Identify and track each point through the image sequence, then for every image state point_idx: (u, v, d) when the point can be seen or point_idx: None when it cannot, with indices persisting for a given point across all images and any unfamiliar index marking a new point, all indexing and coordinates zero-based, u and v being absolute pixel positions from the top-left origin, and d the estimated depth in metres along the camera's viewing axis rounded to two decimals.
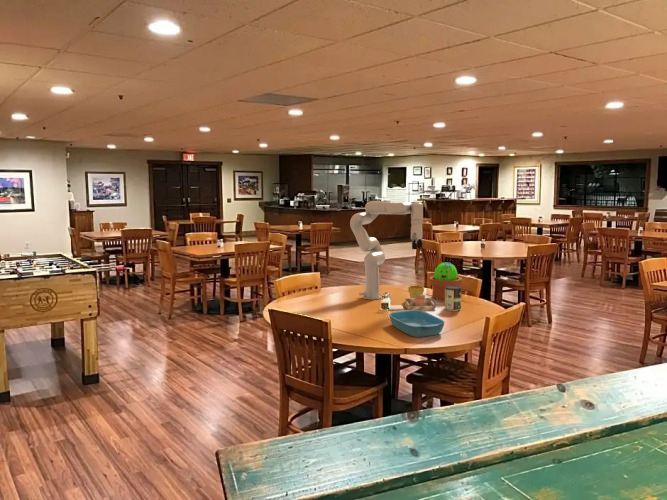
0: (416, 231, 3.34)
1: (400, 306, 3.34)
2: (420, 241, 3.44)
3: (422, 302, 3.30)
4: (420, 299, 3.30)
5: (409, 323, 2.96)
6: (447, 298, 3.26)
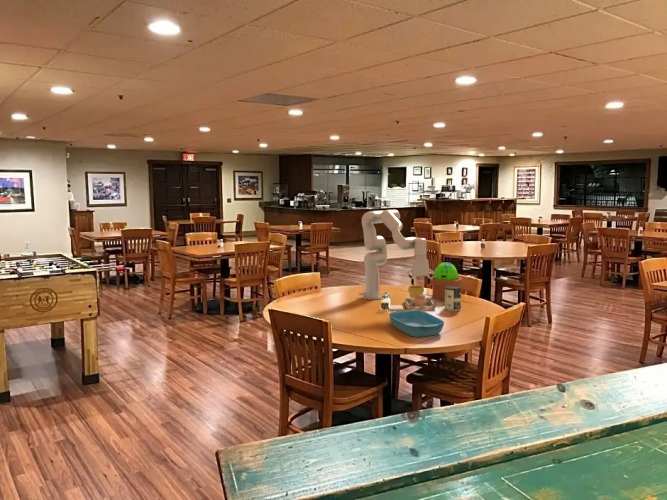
0: None
1: (400, 306, 3.34)
2: None
3: (422, 302, 3.30)
4: (420, 299, 3.30)
5: (409, 323, 2.96)
6: (447, 298, 3.26)
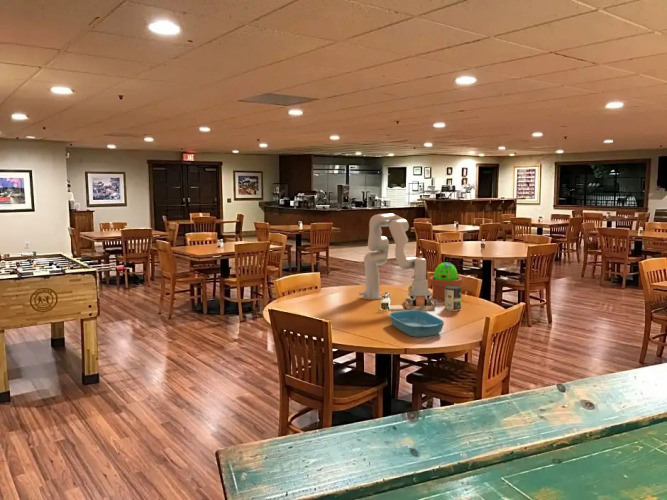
0: None
1: (400, 306, 3.34)
2: (414, 299, 3.33)
3: (422, 302, 3.30)
4: (420, 299, 3.30)
5: (409, 323, 2.96)
6: (447, 298, 3.26)
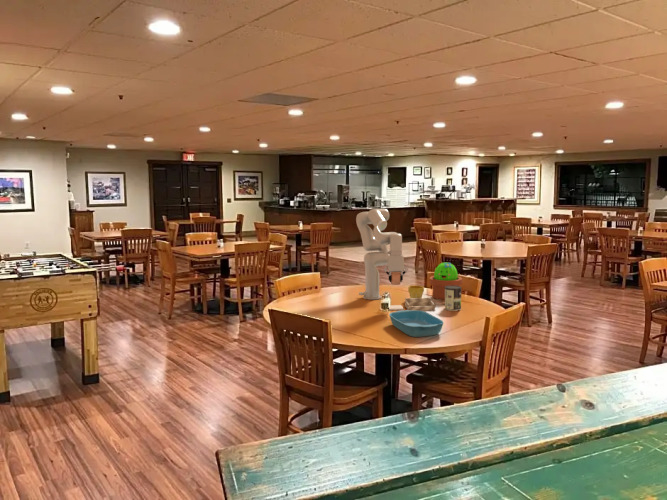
0: None
1: (400, 306, 3.34)
2: (390, 275, 3.31)
3: (398, 278, 3.28)
4: (396, 275, 3.27)
5: (409, 323, 2.96)
6: (447, 298, 3.26)
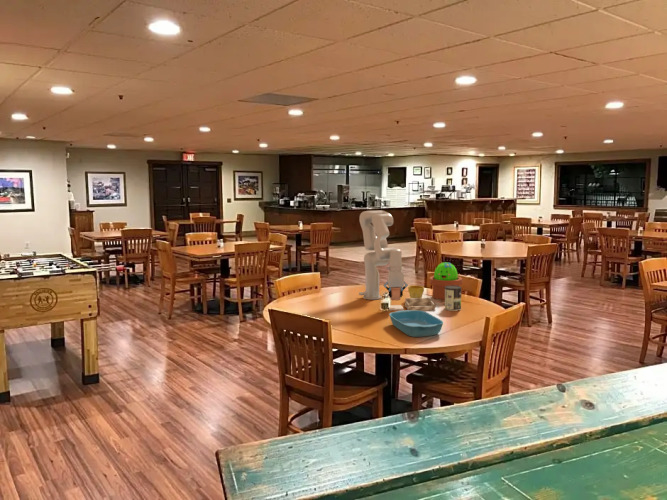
0: None
1: (400, 306, 3.34)
2: (390, 290, 3.32)
3: (398, 293, 3.29)
4: (396, 290, 3.28)
5: (410, 323, 2.96)
6: (447, 298, 3.26)
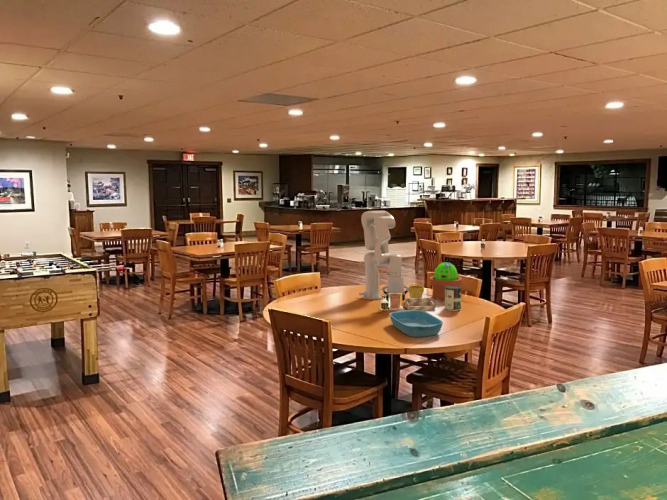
0: None
1: (400, 306, 3.34)
2: None
3: (397, 301, 3.30)
4: (395, 298, 3.29)
5: (410, 323, 2.96)
6: (447, 298, 3.26)
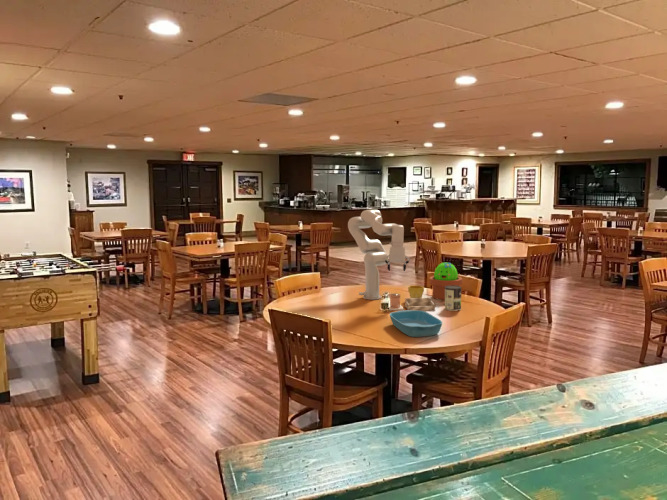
0: None
1: (400, 306, 3.34)
2: (389, 264, 3.39)
3: (397, 301, 3.30)
4: (395, 298, 3.29)
5: (410, 323, 2.96)
6: (447, 298, 3.26)
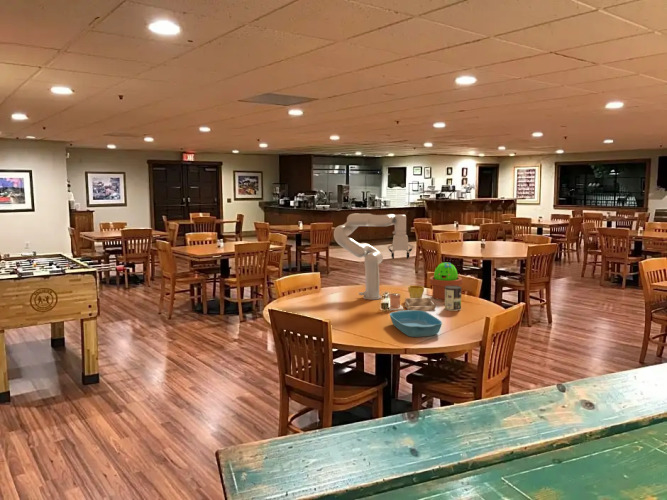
0: None
1: (400, 306, 3.34)
2: None
3: (397, 301, 3.30)
4: (395, 298, 3.29)
5: (410, 323, 2.96)
6: (447, 298, 3.26)
